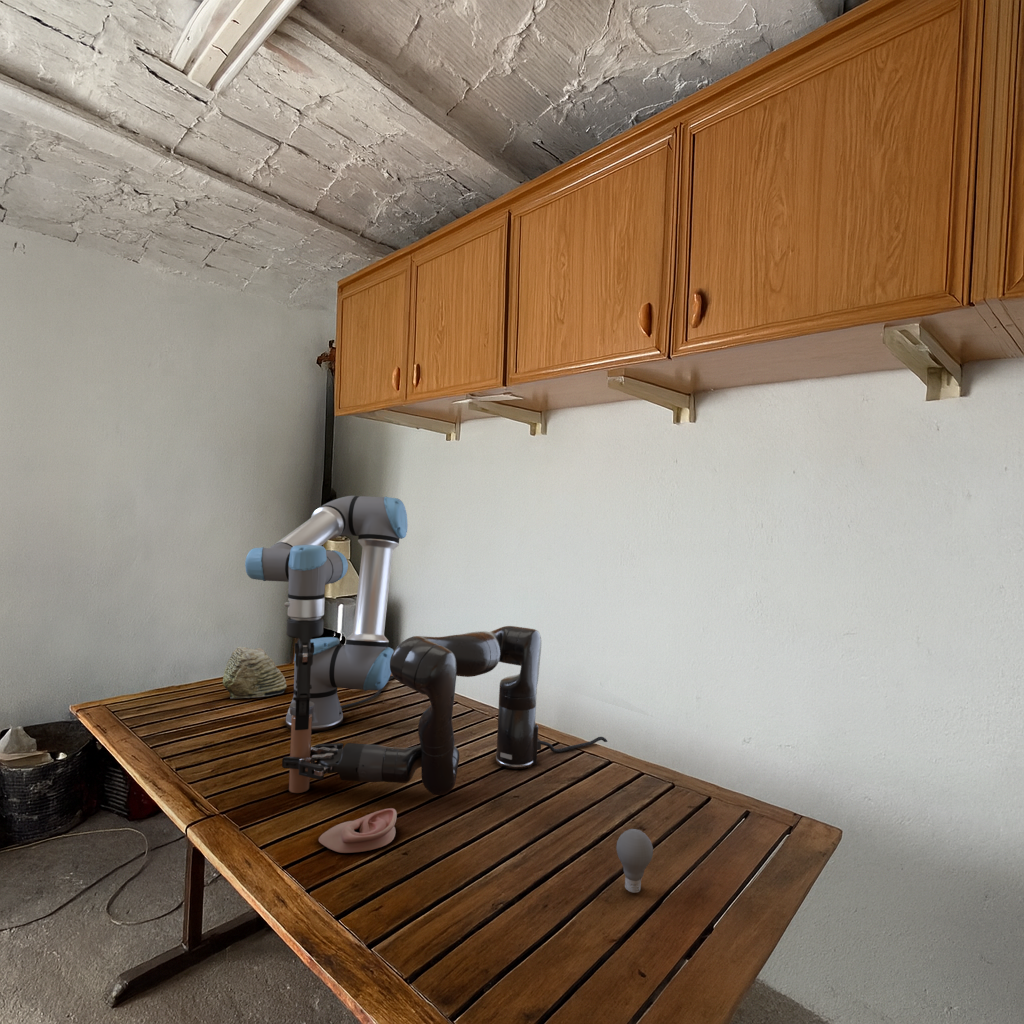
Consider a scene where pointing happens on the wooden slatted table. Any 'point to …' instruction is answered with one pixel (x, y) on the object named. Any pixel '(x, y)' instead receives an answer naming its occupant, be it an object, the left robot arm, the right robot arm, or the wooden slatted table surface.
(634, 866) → the light bulb
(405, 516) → the left robot arm
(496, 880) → the wooden slatted table surface
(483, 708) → the wooden slatted table surface
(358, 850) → the anatomical model
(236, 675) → the fossil
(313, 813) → the wooden slatted table surface
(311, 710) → the lid
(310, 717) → the pinkish brown cylinder
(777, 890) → the wooden slatted table surface
